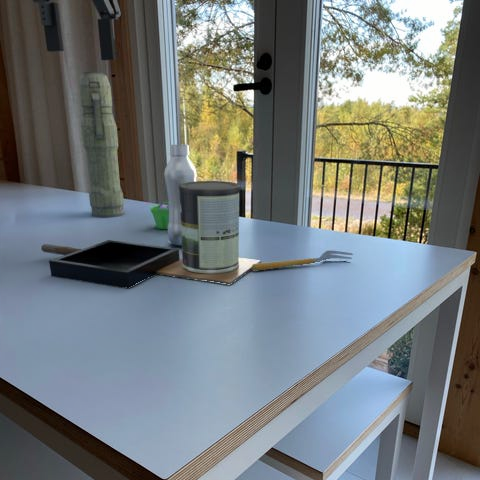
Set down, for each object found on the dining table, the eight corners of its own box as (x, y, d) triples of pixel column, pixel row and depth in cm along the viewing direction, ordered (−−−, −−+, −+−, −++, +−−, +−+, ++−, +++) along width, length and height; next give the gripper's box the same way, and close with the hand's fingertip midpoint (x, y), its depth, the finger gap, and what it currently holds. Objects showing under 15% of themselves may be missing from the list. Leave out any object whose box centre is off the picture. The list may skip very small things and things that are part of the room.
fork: (254, 265, 82) (353, 252, 88) (250, 259, 84) (348, 247, 90) (253, 277, 84) (351, 264, 90) (249, 272, 85) (346, 259, 91)
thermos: (94, 219, 125) (77, 70, 111) (89, 211, 135) (73, 73, 121) (128, 217, 128) (115, 71, 114) (120, 209, 138) (108, 75, 124)
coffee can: (171, 270, 82) (167, 186, 76) (196, 255, 91) (194, 179, 85) (227, 277, 79) (227, 190, 73) (247, 260, 88) (248, 182, 82)
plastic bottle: (205, 243, 102) (203, 144, 94) (185, 250, 97) (180, 146, 89) (182, 239, 105) (178, 143, 97) (161, 246, 100) (155, 145, 92)
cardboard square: (156, 274, 82) (156, 271, 82) (195, 255, 94) (195, 252, 93) (230, 285, 77) (230, 282, 76) (261, 263, 89) (261, 260, 88)
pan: (10, 269, 84) (7, 253, 83) (73, 248, 98) (71, 234, 97) (128, 288, 75) (127, 271, 74) (179, 262, 89) (179, 248, 87)
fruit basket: (150, 229, 114) (147, 181, 110) (162, 222, 122) (159, 177, 118) (196, 232, 112) (194, 182, 108) (205, 224, 120) (204, 178, 116)
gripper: (22, -141, 62) (47, 45, 70) (133, -75, 83) (142, 62, 91) (-19, -131, 65) (9, 47, 73) (99, -69, 86) (111, 63, 94)
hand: (83, 56), depth 82 cm, fingers open, 13 cm apart
